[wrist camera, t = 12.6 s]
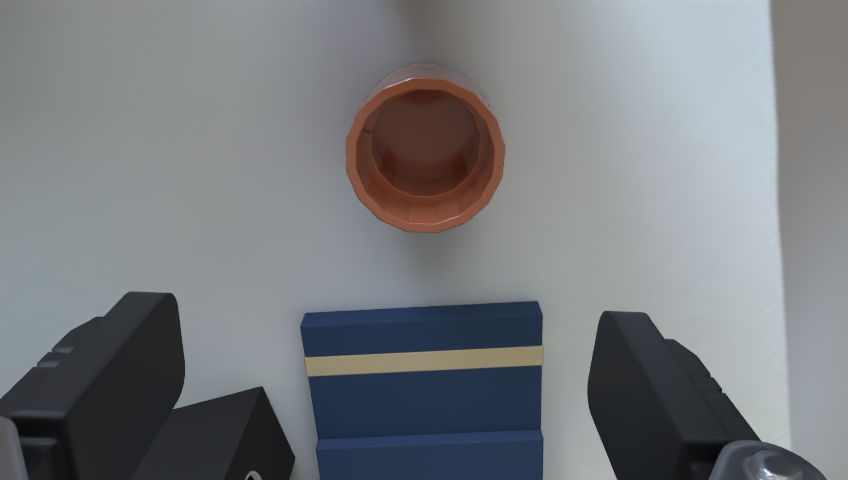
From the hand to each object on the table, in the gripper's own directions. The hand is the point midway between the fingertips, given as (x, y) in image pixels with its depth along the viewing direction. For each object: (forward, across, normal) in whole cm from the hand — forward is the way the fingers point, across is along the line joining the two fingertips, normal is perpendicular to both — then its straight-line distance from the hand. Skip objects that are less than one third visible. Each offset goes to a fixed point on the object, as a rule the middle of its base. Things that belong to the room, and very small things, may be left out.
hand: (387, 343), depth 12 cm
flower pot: (+17, -1, 0) cm, 17 cm away
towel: (+17, -2, +16) cm, 24 cm away
